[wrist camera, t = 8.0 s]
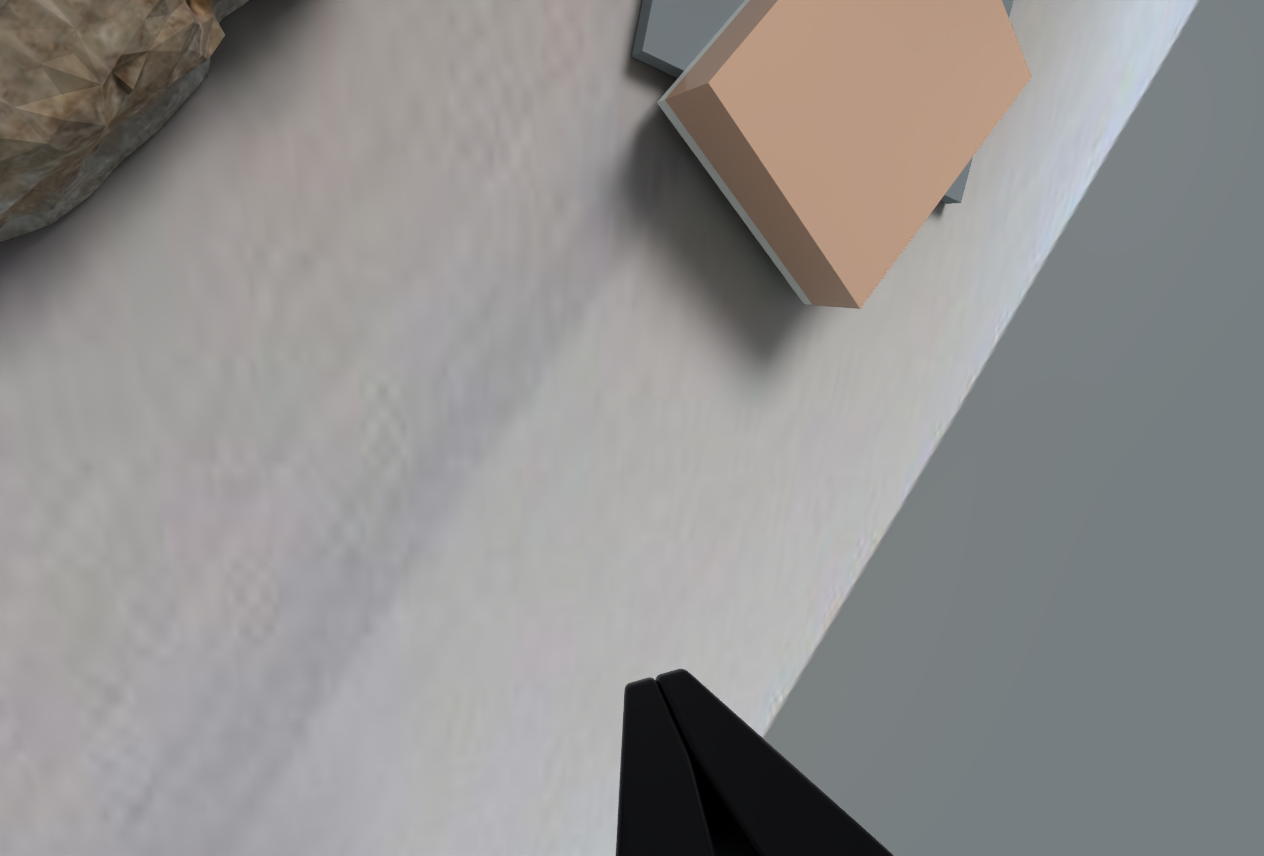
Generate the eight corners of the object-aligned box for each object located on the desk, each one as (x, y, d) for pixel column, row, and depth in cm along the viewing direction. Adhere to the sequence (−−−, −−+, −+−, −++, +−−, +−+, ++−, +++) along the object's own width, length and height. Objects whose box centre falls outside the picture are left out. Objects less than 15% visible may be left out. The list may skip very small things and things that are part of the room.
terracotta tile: (859, 308, 20) (1031, 77, 22) (708, 82, 16) (932, -182, 18) (804, 304, 22) (964, 92, 24) (657, 102, 18) (861, -137, 20)
